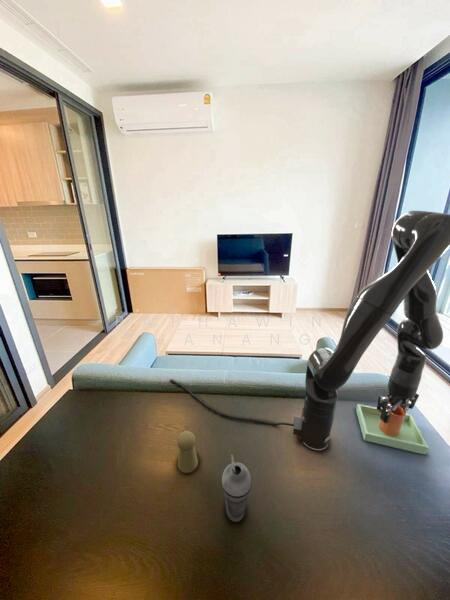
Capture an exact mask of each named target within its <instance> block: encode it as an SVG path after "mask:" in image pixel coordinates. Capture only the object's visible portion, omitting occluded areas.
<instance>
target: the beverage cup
mask: <svg viewBox="0 0 450 600" xmlns="http://www.w3.org/2000/svg"><path fill="white" fill-rule="evenodd" d="M230 459H231V463H229V464H228V465H227V466H226V467H225V469H224V470H223V473H222V476H221V480H220V481H221V482H220V483H221V487H222V491H223V495H224V503H225V510H226V514H227V515H226V516H227V517H228V519H229V520H231V521H232V522H236V523H237V522H240V521H241V520H242V519H243V518H244V517H245V516H244V515H245V512H246V508H247V502H248V497H249V493H250V491H251V488H252V478H251V477H252V476H251V474H250V471H249V469H248V468H247V467H246V466H245V465H244V464H243V463H241V462H237V461H236V462H235V459H234V454H233V453H231V454H230Z"/></svg>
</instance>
